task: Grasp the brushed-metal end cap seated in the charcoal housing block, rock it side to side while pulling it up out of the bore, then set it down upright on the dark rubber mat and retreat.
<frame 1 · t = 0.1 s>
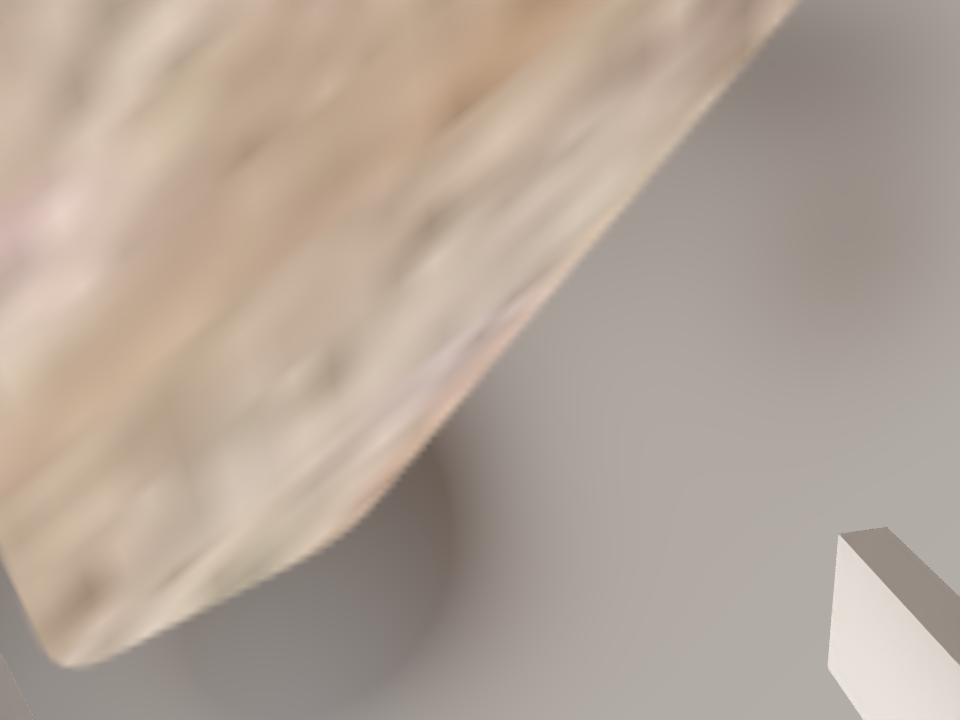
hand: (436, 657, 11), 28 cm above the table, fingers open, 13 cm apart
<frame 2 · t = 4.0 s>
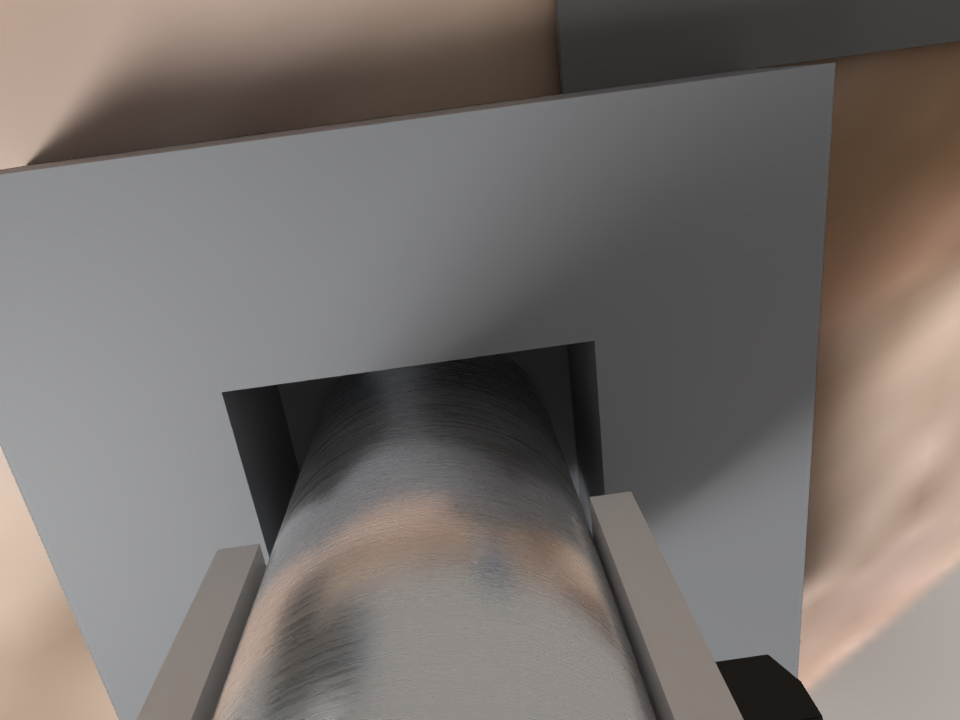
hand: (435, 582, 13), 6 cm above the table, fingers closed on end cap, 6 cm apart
housing: (436, 435, 18), on the table
end cap: (435, 444, 18), resting on housing, touching gripper
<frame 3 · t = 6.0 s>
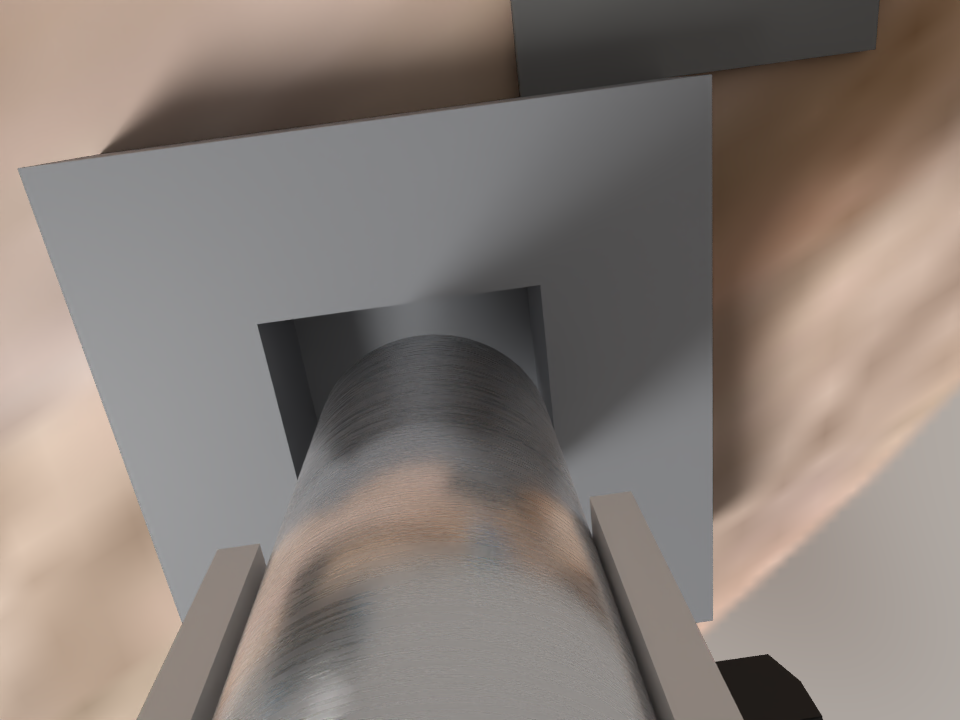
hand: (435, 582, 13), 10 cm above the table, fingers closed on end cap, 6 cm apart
housing: (423, 374, 22), on the table
end cap: (435, 444, 18), point 5 cm above the table, touching gripper
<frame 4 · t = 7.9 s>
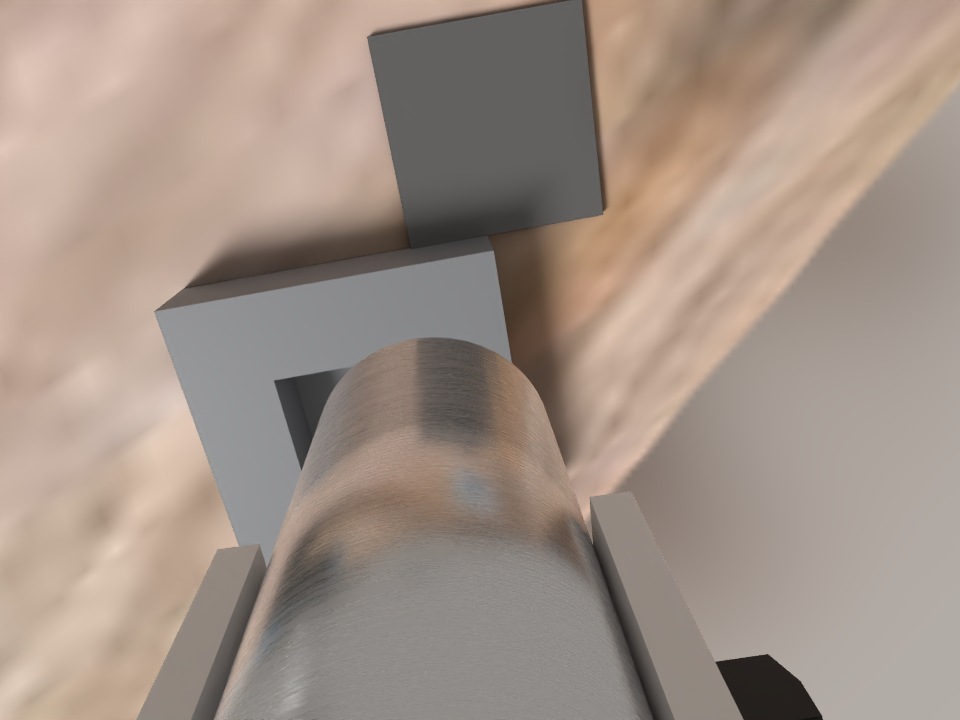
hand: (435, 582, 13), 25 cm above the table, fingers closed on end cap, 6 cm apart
housing: (369, 399, 38), on the table
end cap: (435, 446, 18), point 20 cm above the table, touching gripper
mat: (490, 130, 34), on the table
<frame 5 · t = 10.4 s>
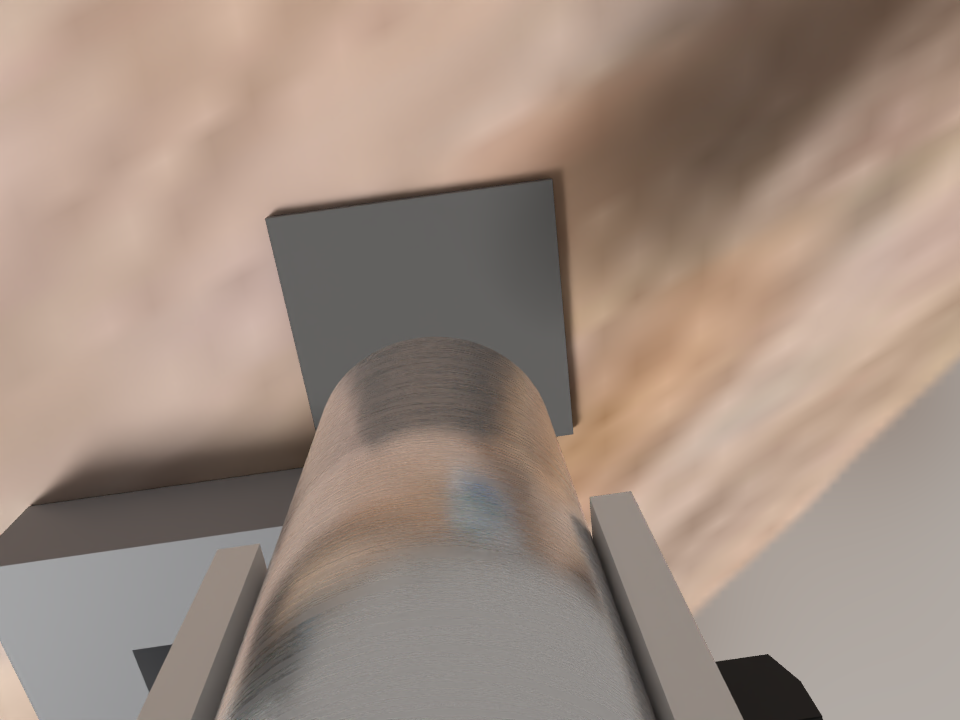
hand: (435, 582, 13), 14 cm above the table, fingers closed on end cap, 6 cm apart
housing: (274, 632, 30), on the table
end cap: (436, 446, 18), point 9 cm above the table, touching gripper
mat: (430, 331, 26), on the table
when the fingers open (7 cm above the table, at t = 12.2 s): end cap stays where it is, resting on mat.
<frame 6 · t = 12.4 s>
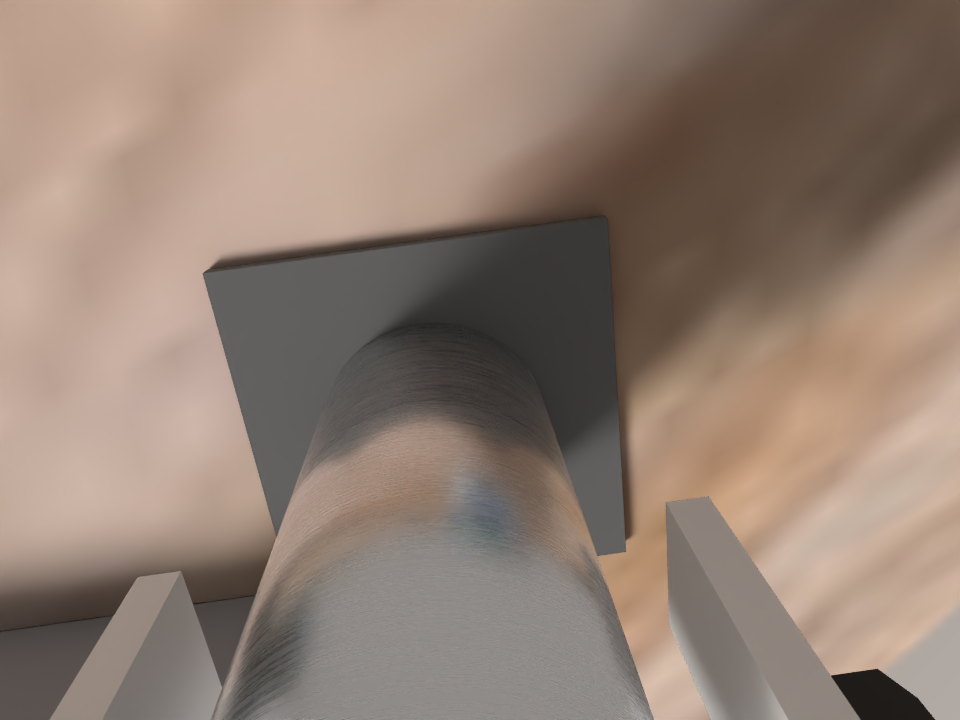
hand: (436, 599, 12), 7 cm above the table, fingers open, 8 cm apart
end cap: (435, 427, 19), resting on mat
mat: (435, 420, 19), on the table
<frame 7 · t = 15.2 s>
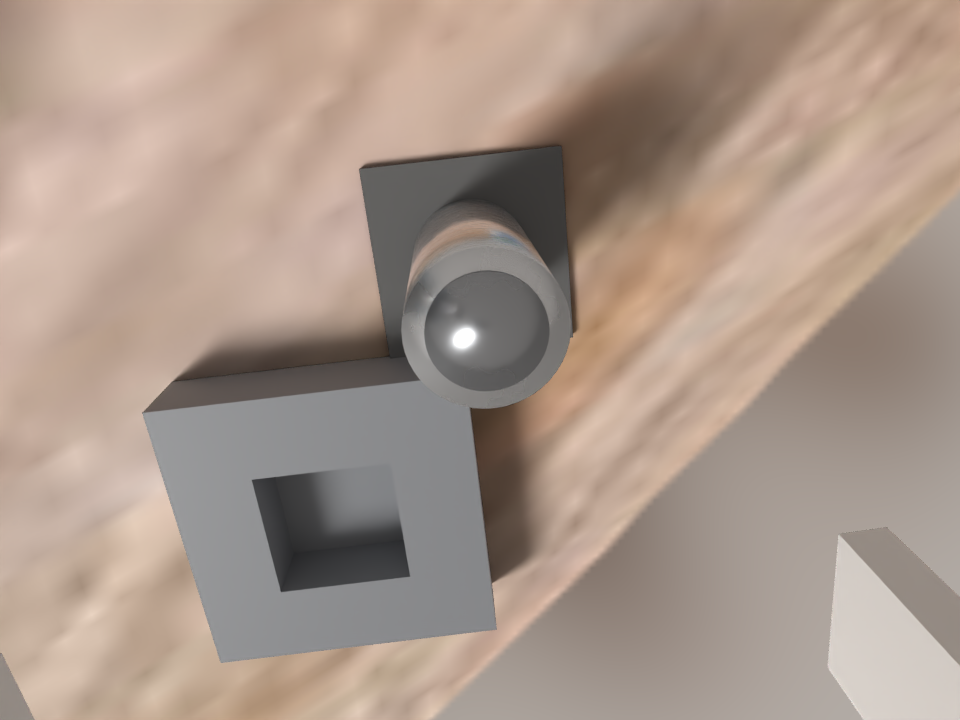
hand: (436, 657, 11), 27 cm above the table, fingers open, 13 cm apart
housing: (343, 490, 40), on the table
end cap: (471, 258, 35), resting on mat
mat: (471, 256, 36), on the table
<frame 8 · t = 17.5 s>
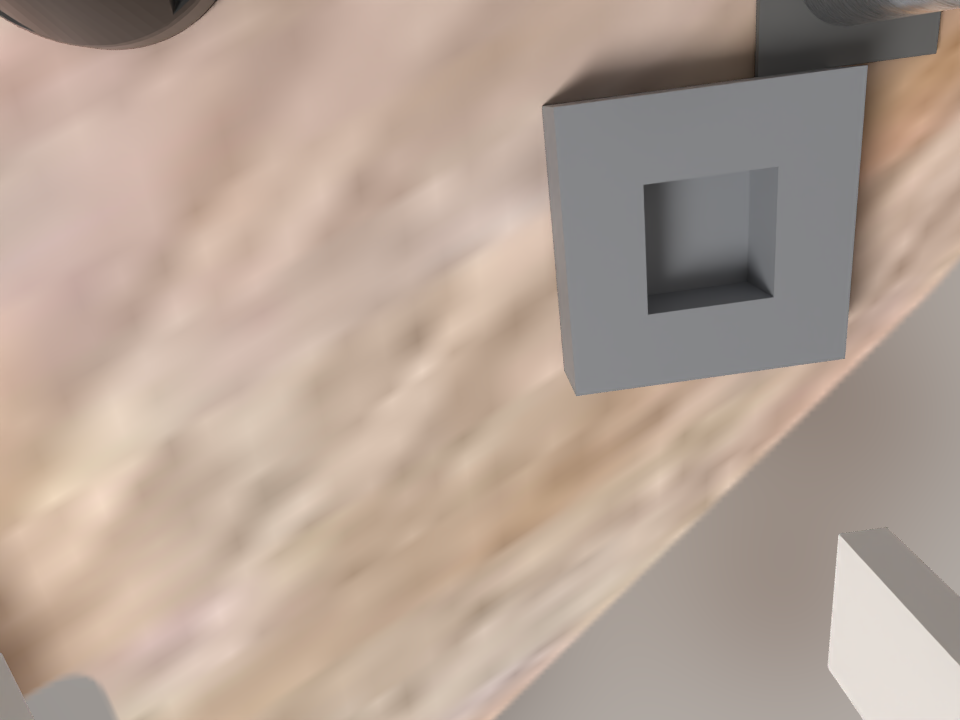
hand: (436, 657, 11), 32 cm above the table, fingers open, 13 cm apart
housing: (685, 229, 41), on the table
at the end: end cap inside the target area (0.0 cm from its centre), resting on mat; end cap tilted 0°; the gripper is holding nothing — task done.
